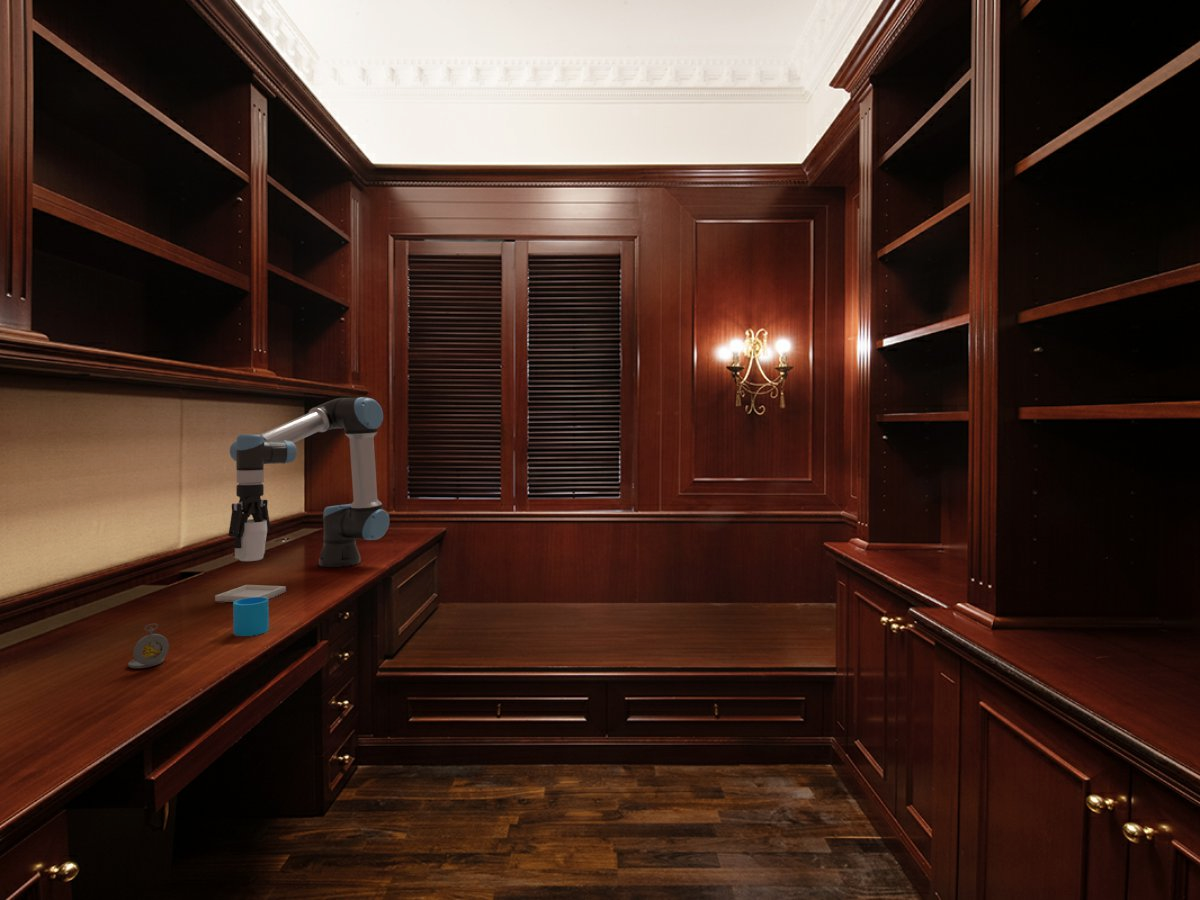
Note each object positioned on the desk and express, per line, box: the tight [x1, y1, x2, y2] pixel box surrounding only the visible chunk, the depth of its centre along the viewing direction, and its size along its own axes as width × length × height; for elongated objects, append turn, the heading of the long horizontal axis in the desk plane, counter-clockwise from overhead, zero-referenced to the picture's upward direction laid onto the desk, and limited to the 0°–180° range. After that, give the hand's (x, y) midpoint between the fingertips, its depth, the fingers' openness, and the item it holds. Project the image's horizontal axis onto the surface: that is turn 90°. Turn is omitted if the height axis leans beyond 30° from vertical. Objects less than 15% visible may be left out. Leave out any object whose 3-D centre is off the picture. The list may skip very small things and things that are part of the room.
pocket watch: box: [128, 623, 170, 669], centre depth 146 cm, size 8×8×10 cm
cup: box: [238, 518, 268, 562], centre depth 205 cm, size 9×9×12 cm
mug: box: [232, 597, 270, 637], centre depth 173 cm, size 12×8×8 cm
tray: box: [214, 584, 287, 603], centre depth 206 cm, size 14×14×2 cm
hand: (250, 555), depth 206 cm, fingers closed on cup, 9 cm apart
